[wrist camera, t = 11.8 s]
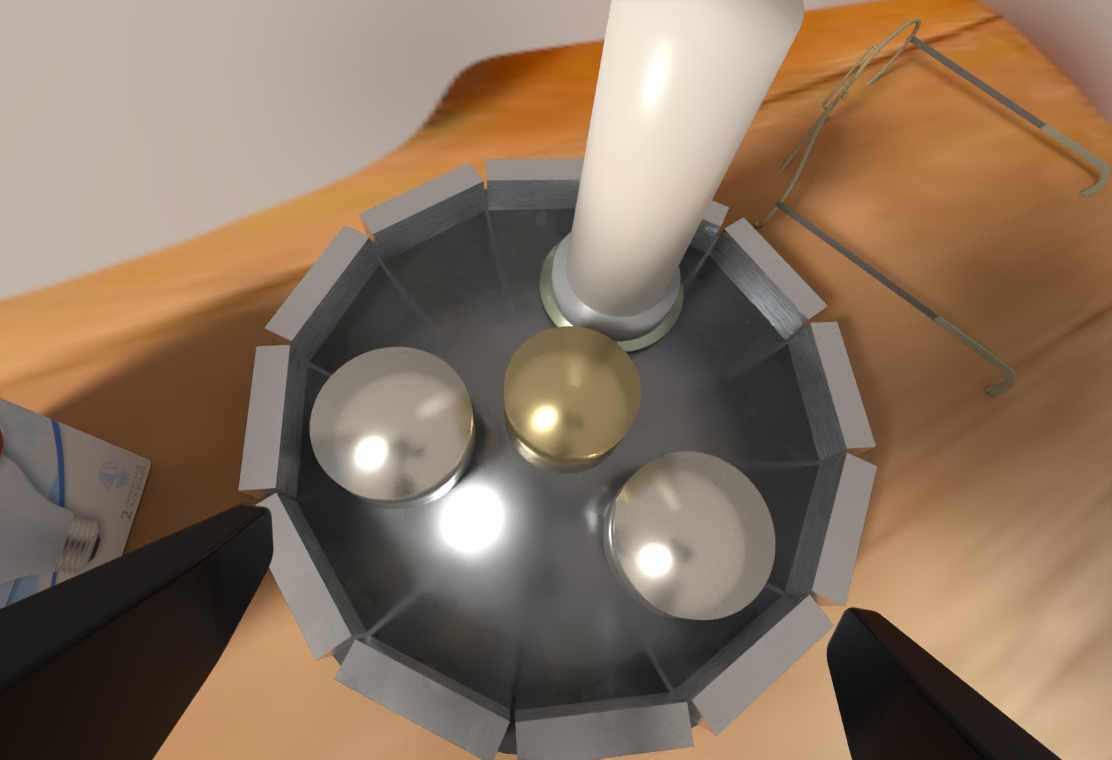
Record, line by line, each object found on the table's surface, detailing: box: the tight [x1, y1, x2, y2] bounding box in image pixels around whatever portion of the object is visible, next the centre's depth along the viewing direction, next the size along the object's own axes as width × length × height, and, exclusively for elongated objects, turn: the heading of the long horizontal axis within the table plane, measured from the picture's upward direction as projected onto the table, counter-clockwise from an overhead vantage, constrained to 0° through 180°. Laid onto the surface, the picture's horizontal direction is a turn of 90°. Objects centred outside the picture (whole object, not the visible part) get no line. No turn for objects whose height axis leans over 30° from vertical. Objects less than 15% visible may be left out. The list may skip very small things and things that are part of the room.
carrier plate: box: [238, 159, 877, 760], centre depth 22 cm, size 24×24×4 cm
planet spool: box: [551, 0, 804, 342], centre depth 19 cm, size 6×6×13 cm
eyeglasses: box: [755, 19, 1111, 396], centre depth 28 cm, size 16×15×5 cm
